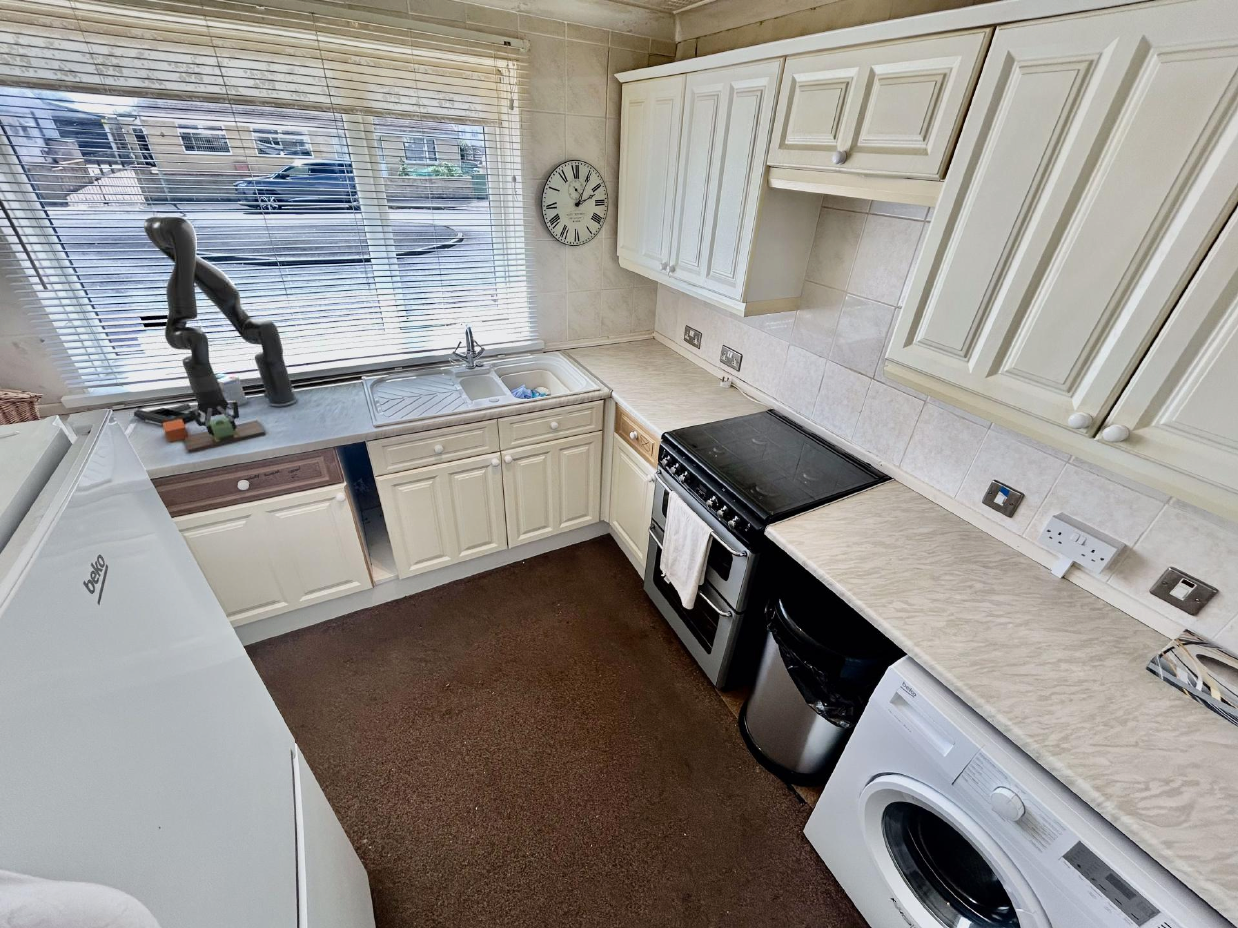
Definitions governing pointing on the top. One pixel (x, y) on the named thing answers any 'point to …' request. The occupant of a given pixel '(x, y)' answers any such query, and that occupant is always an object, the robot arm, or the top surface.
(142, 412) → the black rectangular frame
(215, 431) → the green block with hole
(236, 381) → the light bulb box
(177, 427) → the orange block
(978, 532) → the top surface
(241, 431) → the jig board
